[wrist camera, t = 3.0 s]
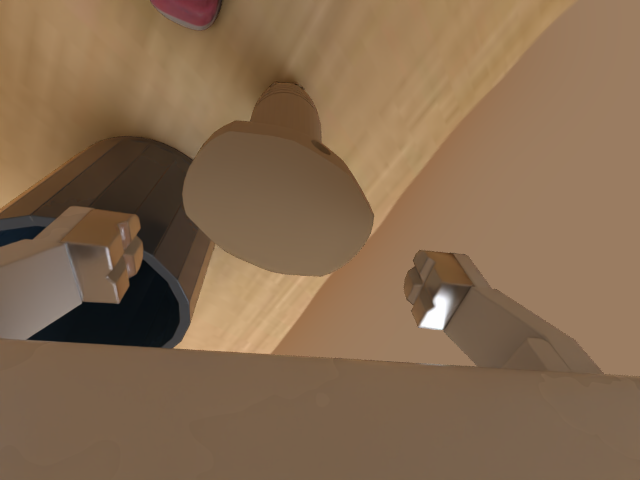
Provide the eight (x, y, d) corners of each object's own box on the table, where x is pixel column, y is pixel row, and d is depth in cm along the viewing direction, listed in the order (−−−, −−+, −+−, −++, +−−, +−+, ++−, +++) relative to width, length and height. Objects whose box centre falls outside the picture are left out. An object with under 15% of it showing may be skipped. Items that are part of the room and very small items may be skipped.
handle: (263, 41, 21) (223, 94, 9) (343, 99, 23) (400, 205, 11) (229, 107, 23) (161, 224, 11) (306, 155, 25) (320, 293, 13)
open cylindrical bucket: (52, 122, 23) (-101, 200, 14) (223, 150, 25) (186, 233, 16) (86, 252, 29) (-3, 361, 20) (219, 266, 31) (191, 370, 22)
